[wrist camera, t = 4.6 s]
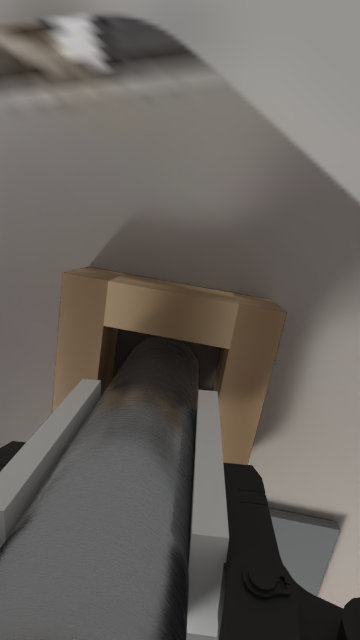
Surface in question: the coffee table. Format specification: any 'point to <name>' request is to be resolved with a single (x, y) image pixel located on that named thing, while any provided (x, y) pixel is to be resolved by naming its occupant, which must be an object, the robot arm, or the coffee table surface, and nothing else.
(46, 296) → the coffee table surface
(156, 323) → the block
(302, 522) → the rubber mat
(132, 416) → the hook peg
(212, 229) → the coffee table surface
